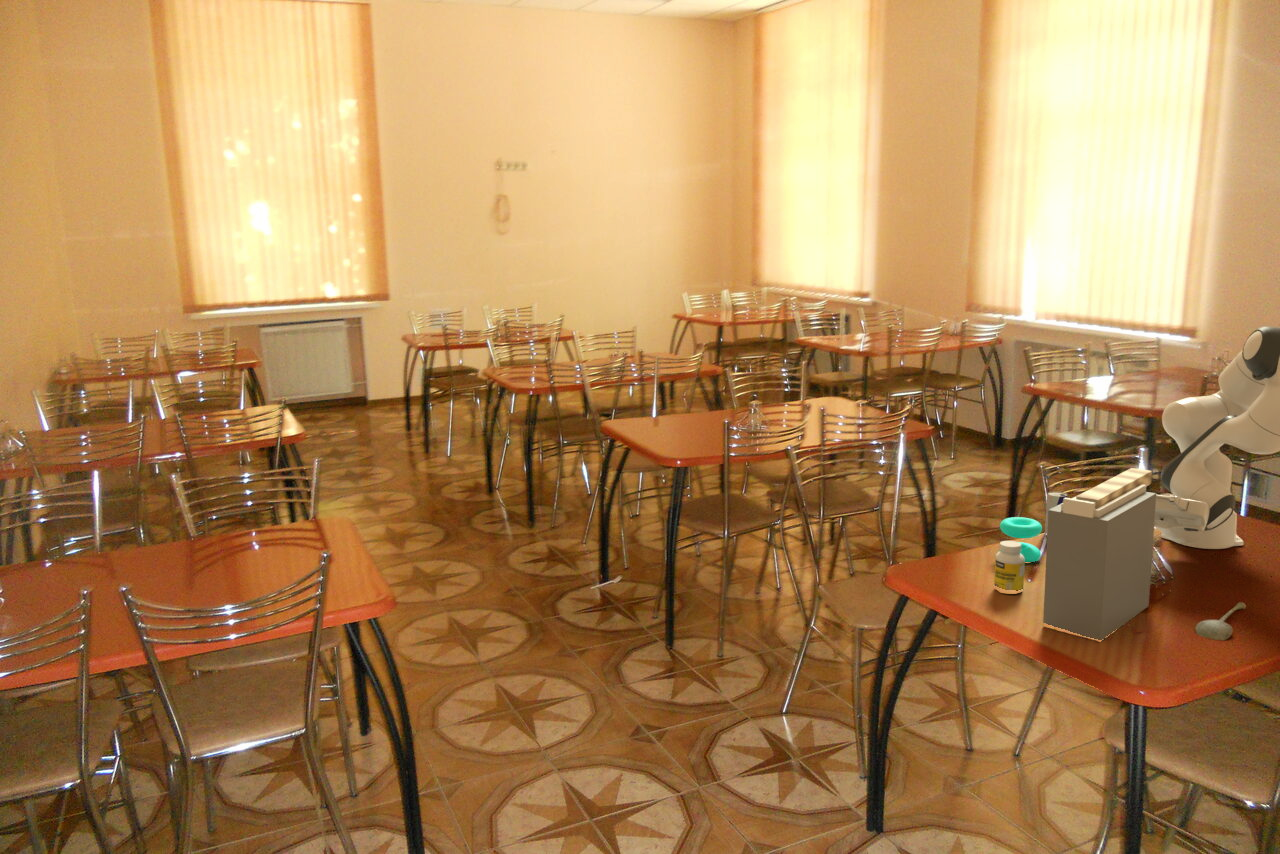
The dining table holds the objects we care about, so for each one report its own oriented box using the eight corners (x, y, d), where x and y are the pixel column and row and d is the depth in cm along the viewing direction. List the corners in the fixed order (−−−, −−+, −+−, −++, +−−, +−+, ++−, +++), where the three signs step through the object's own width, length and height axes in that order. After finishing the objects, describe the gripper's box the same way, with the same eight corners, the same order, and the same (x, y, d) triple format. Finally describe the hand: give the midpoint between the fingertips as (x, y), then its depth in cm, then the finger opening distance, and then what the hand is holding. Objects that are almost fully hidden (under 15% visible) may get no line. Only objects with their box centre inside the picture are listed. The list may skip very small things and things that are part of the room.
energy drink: (1068, 539, 262) (1070, 496, 259) (1047, 539, 263) (1049, 496, 261) (1063, 533, 267) (1066, 491, 265) (1043, 533, 268) (1045, 491, 266)
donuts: (1049, 521, 246) (1029, 529, 240) (1048, 558, 248) (1027, 568, 242) (1013, 513, 254) (992, 521, 248) (1011, 549, 256) (991, 559, 250)
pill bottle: (987, 589, 229) (989, 542, 227) (1007, 583, 232) (1009, 537, 230) (1009, 598, 224) (1011, 549, 221) (1029, 592, 227) (1031, 544, 224)
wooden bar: (1130, 480, 221) (1131, 468, 221) (1151, 483, 218) (1151, 470, 218) (1075, 510, 201) (1076, 496, 200) (1097, 514, 198) (1098, 500, 197)
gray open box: (1093, 593, 225) (1100, 471, 219) (1148, 606, 216) (1157, 479, 210) (1043, 627, 207) (1049, 496, 201) (1100, 642, 199) (1108, 506, 193)
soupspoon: (1189, 639, 201) (1224, 649, 197) (1191, 624, 200) (1226, 634, 196) (1225, 605, 216) (1258, 613, 211) (1227, 591, 215) (1260, 599, 210)
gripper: (1126, 493, 244) (1108, 476, 234) (1217, 507, 229) (1202, 489, 220) (1120, 517, 243) (1102, 500, 233) (1211, 533, 228) (1195, 516, 218)
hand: (1151, 495), depth 226 cm, fingers open, 8 cm apart
